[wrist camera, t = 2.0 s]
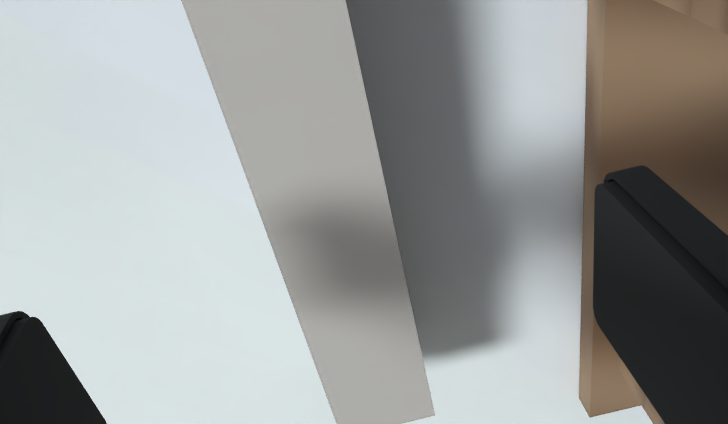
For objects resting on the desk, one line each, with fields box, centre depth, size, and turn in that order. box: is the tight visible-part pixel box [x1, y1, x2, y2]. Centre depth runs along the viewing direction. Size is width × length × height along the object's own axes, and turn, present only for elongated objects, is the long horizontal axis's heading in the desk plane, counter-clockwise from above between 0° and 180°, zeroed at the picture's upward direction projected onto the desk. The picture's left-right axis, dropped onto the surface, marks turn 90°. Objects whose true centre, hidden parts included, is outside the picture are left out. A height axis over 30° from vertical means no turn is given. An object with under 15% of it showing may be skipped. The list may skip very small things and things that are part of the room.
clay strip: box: [181, 0, 435, 424], centre depth 15 cm, size 20×3×4 cm, turn 12°
